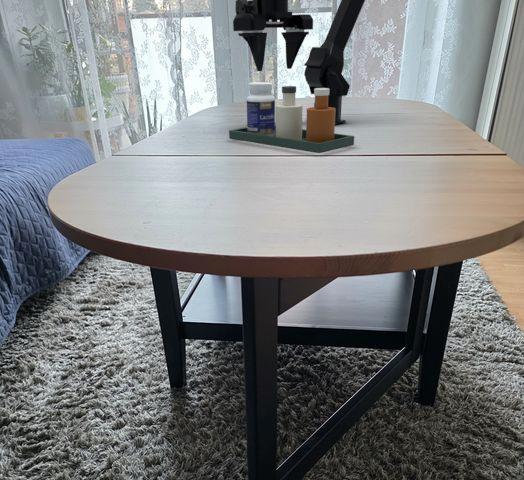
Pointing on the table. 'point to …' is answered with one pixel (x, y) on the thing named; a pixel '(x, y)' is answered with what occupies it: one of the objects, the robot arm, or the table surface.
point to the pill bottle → (261, 109)
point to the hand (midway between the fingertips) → (274, 69)
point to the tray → (293, 141)
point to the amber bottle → (320, 118)
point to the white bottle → (289, 115)
